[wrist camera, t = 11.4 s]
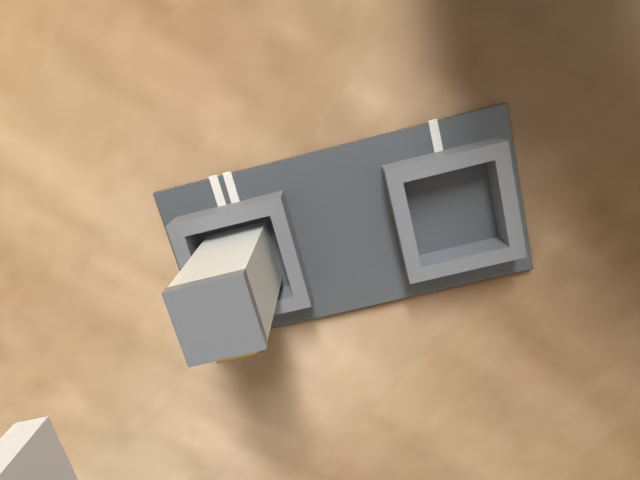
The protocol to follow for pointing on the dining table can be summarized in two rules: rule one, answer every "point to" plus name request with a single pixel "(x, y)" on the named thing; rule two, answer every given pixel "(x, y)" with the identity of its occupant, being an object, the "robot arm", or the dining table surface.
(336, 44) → the dining table surface
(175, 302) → the plug
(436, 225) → the patch panel
